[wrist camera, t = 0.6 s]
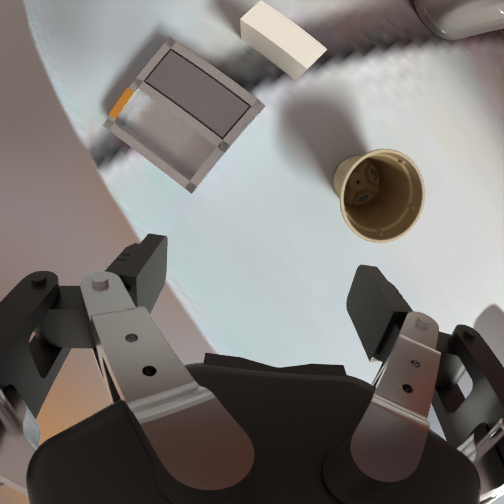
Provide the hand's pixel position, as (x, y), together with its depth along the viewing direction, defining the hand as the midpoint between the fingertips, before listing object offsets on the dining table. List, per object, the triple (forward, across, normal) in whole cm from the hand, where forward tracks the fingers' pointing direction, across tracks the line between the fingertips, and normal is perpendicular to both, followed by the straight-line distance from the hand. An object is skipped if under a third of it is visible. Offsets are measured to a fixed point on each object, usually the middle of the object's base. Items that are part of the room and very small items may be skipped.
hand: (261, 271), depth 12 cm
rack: (+24, +9, -6) cm, 26 cm away
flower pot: (+24, -12, -2) cm, 27 cm away
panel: (+24, 0, -15) cm, 29 cm away
